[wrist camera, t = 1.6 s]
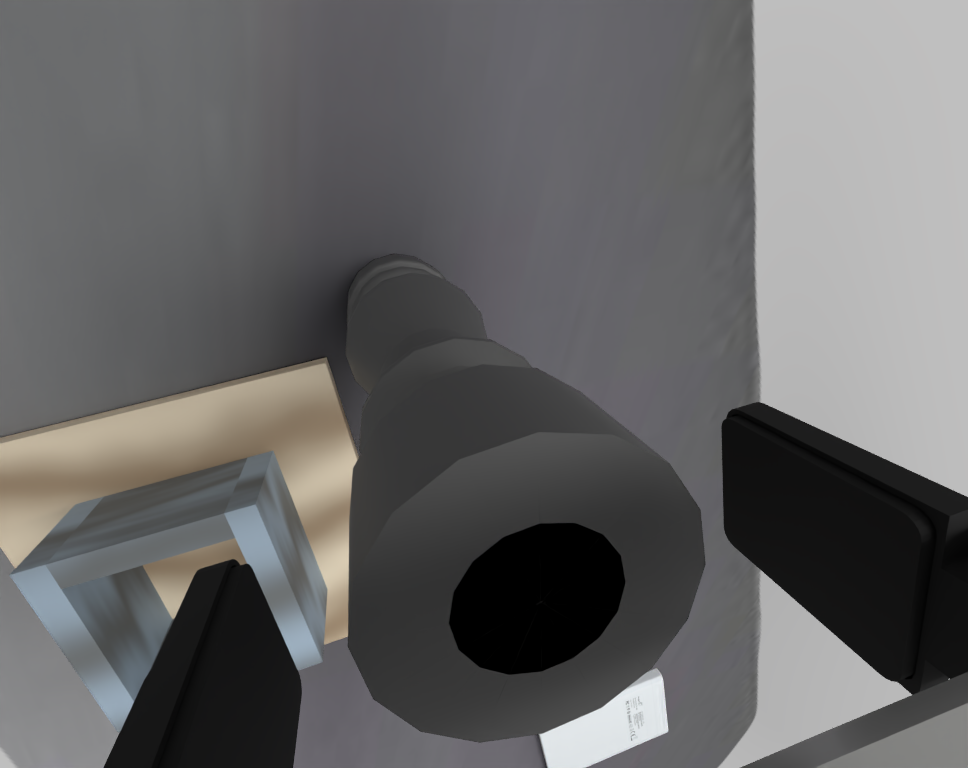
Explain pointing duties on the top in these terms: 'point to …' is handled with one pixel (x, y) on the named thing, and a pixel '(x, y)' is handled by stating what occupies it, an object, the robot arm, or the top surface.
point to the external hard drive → (610, 726)
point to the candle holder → (498, 525)
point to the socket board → (182, 518)
